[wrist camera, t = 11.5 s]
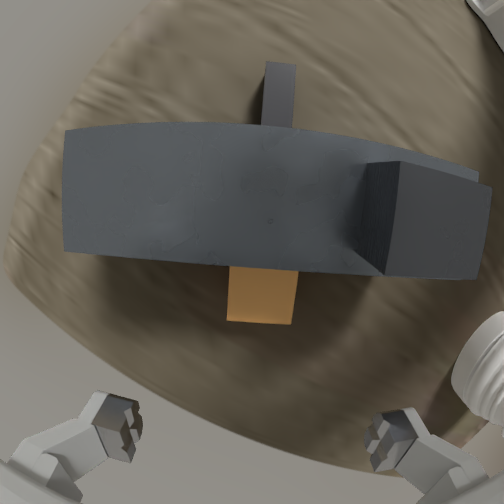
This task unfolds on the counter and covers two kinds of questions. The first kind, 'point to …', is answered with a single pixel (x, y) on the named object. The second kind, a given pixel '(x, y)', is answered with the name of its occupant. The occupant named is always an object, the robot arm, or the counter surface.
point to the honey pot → (483, 371)
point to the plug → (256, 279)
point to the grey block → (270, 200)
